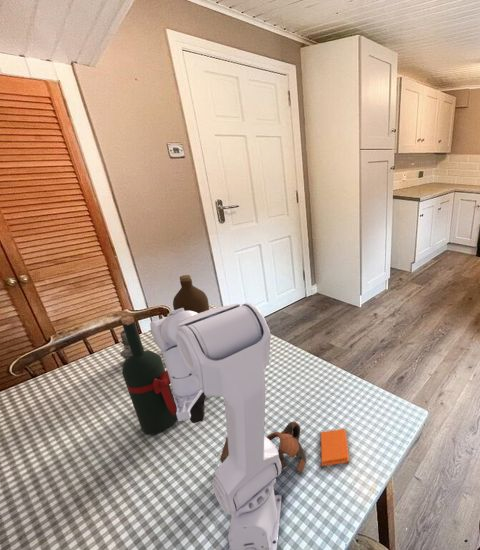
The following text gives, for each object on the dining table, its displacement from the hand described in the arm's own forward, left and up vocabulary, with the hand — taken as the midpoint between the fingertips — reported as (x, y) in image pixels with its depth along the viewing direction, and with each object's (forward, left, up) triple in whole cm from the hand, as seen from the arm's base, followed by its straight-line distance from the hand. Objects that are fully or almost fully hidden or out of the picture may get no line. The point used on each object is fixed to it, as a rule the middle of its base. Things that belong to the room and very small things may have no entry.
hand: (198, 419), depth 66 cm
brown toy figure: (-5, -18, -10) cm, 21 cm away
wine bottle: (+10, +13, -10) cm, 19 cm away
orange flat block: (-4, -29, -9) cm, 31 cm away
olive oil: (+48, +17, -10) cm, 52 cm away
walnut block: (-4, -8, -9) cm, 13 cm away
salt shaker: (+39, +34, -10) cm, 53 cm away
